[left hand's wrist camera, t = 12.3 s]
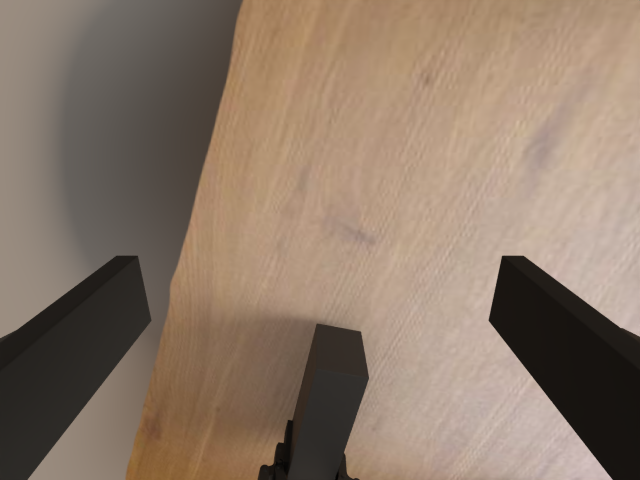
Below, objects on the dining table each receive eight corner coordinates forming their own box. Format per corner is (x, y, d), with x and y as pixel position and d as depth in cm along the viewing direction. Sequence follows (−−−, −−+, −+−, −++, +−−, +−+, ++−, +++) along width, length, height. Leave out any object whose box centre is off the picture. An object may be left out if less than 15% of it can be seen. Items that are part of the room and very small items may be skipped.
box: (316, 323, 47) (316, 368, 39) (361, 331, 47) (369, 378, 39) (287, 441, 55) (281, 499, 47) (325, 447, 55) (325, 506, 47)
